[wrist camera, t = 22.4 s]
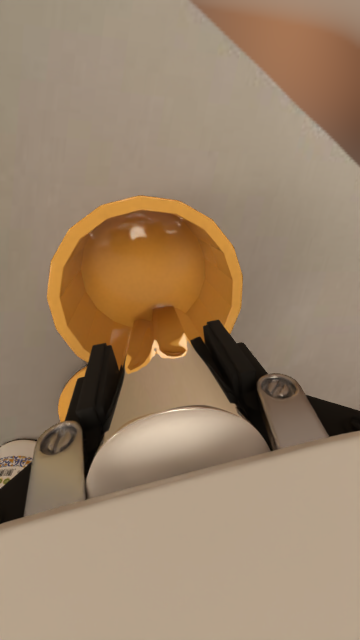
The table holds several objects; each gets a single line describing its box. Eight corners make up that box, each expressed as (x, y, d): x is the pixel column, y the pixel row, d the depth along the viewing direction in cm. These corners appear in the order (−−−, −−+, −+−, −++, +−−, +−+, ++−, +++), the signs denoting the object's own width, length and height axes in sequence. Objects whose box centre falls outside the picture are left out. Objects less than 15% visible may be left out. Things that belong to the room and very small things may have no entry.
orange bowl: (180, 170, 22) (205, 155, 15) (227, 301, 29) (262, 337, 21) (42, 236, 23) (-2, 254, 15) (118, 351, 29) (114, 405, 21)
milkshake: (102, 367, 14) (31, 672, 5) (132, 277, 12) (103, 510, 3) (179, 385, 15) (232, 655, 6) (217, 305, 13) (374, 531, 4)
